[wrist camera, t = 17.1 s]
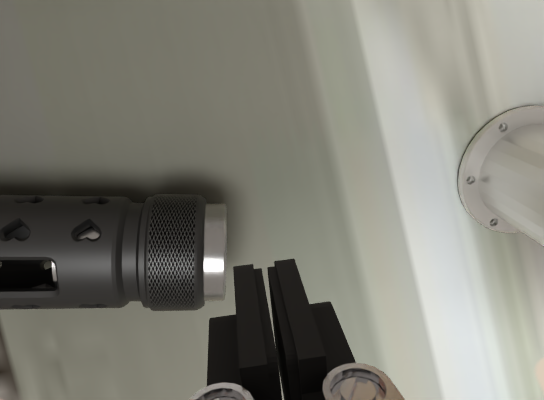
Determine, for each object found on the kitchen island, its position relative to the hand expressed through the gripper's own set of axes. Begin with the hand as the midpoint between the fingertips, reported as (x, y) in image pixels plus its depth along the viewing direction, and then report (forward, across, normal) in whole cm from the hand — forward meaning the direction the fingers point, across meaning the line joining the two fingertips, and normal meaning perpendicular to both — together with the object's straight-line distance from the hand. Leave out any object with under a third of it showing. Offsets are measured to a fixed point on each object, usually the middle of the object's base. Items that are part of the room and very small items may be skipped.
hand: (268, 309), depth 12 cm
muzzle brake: (+30, +16, +8) cm, 34 cm away
